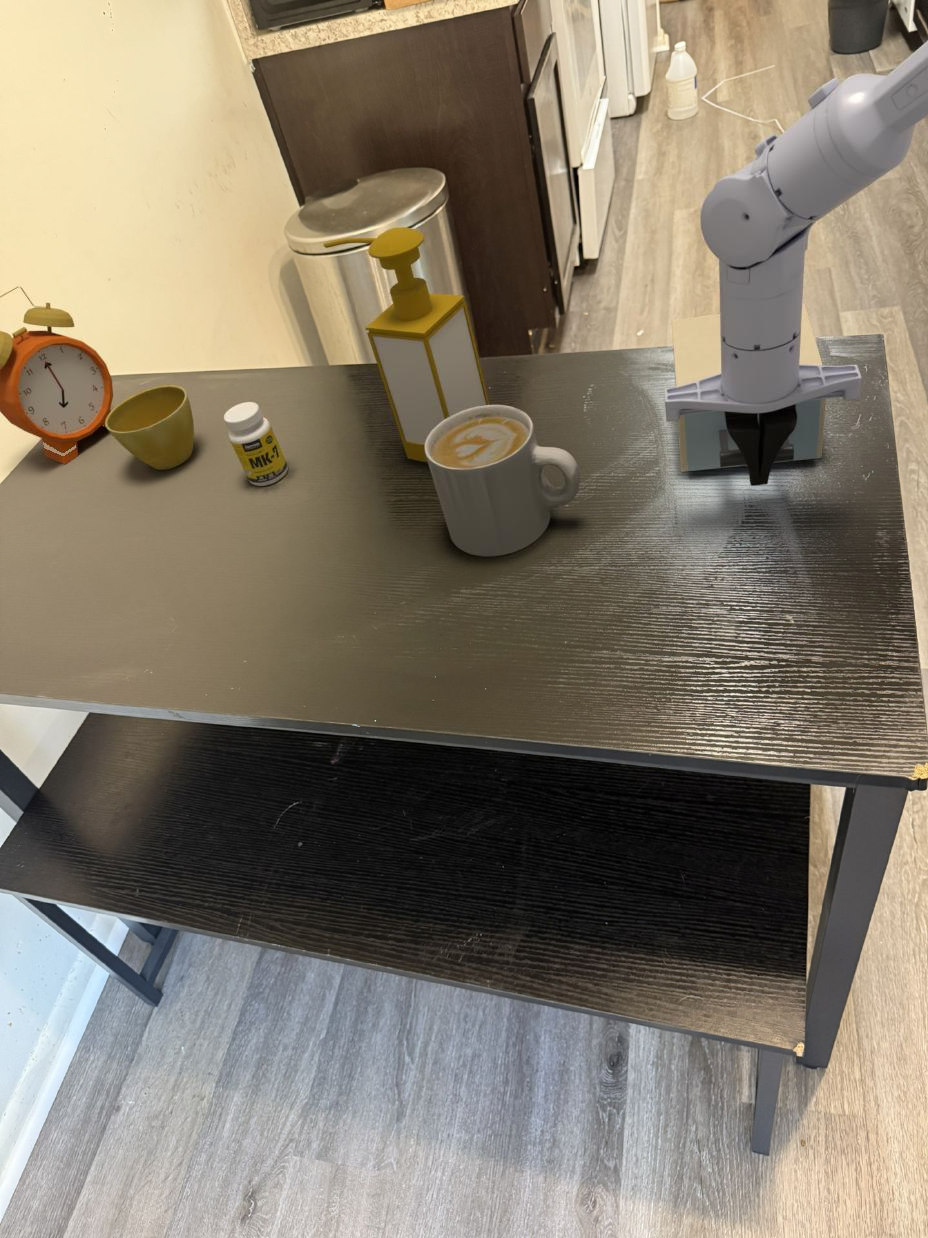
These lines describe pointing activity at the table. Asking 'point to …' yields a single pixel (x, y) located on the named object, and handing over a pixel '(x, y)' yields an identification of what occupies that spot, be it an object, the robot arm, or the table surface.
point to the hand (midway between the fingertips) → (758, 477)
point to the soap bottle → (421, 345)
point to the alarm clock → (53, 383)
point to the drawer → (718, 449)
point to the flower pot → (155, 426)
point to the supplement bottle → (255, 444)
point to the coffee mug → (495, 479)
